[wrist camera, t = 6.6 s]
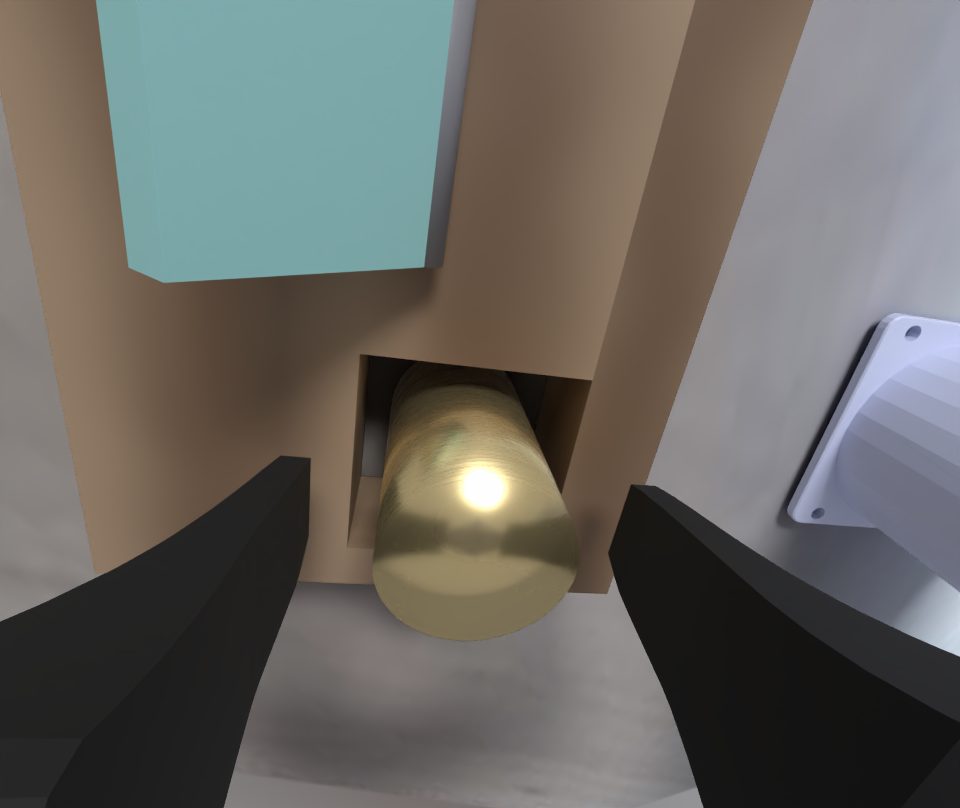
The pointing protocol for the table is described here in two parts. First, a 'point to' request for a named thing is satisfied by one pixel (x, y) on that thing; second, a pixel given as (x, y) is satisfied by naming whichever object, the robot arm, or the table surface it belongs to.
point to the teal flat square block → (284, 132)
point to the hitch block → (409, 270)
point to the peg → (468, 509)
